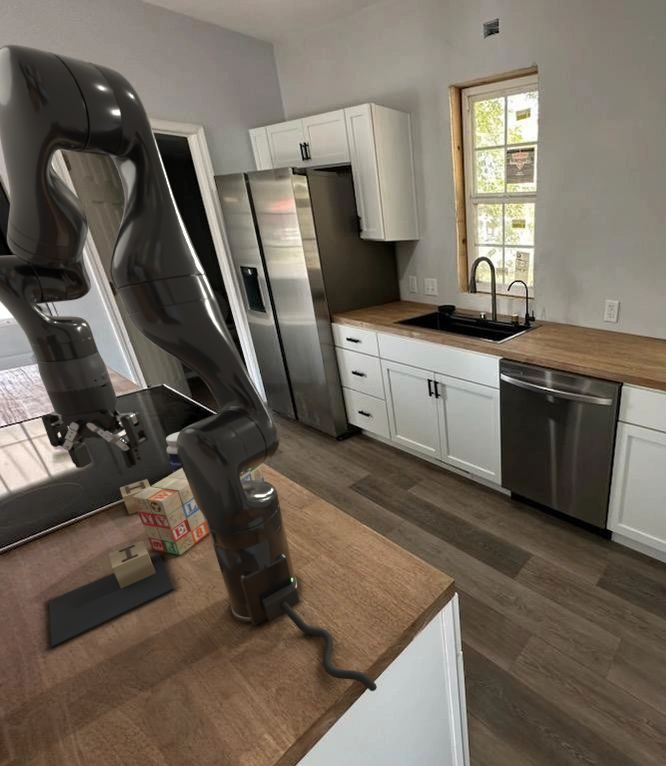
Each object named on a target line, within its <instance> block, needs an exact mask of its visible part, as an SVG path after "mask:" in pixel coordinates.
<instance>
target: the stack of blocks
mask: <svg viewBox="0 0 666 766" xmlns="http://www.w3.org/2000/svg"><path fill="white" fill-rule="evenodd" d="M263 473H264V472H263V469H262V465H261V464H260V465H258V466H257V467H255V468H254V469H252V470H250V471H249V472H247V473H245V474H244V475H242V476H240V480H241V482H242V481H250V480H259V481H265V478H264V474H263ZM133 498H134V501H135V503H136V506H137V508H138V512H137V514H138V516H139V519H140V521H141V523H142V525H143V528H144V530H145V533H146V535H147V538H148V540H149V543H150V547H151V549H152V550H153V551H156V552H161V553H168V554H172V555H177V556H181V555H183V554H184V553H185V552H186V551H188V550H189V549H190V548H192V547H193V546H194V545H195V544H197V543H198V542H199V541H201V540H203V538H204V537H206V536H207V535H209V534H210V532H209V529H208V526H207V523H206V520H205V517H204V516H203V514H202V513H201V511H200V509H199V508H198V506H197V504H196V502H195V500H194V497H193V494H192V492H191V489H190V486H189V484H188V481H187V478H186V476H185V474H184V471H183V469H182V468H181V469H179V470H177V471H176V472H174V473H173V472H172V473H171V474H169V475H168V476H166V477H164V478H162V479H160V480H159V481H157V482H155V483H153V484H152V485H150V487H148V488H147V489H145V490H143V491H141V492H140V493H138V494H136V495H135V496H133Z"/></svg>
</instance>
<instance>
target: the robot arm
mask: <svg viewBox="0 0 666 766" xmlns="http://www.w3.org/2000/svg"><path fill="white" fill-rule="evenodd" d="M0 145H1V151H2V154H3V160H4V165H5V171H6V175H7V181H8V187H9V201H10V202H9V211H8V212H9V213H8V222H7V232H6V233H7V234H6V243H7V246H8V247H9V249H10V251H11V252H12V253H13V254H12V255H0V304H2V305H3V306H4V307H5V308H6V310H7V311H8V312H9V313H10V314H11V316H12V317H13V318H14V320H15V321H16V323H17V324H18V325H19V326H20V328H21V330H22V331H23V332H24V335H25V336H26V338H27V340H28V344H29V345H30V348H31V351H32V353H33V355H34V358H35V360H36V363H37V369H38V373H39V376H40V379H41V381H42V384H43V387H44V388H45V391H46V393H47V396H48V399H49V400H50V403H51V407H52V408H53V411H51V412H49V413H46V414H44V415H42V416H41V421H42V424H43V426H44V429H45V432H46V435H47V438H48V440H49V444H50V446H51V447H54V448H57V447H62V448H63V449H64V450H65V451H67V452H68V455H69V458H70V460H71V462H72V464H73V465H74V466H75V467H76V468H77V469H83V468H85V467H87V466H88V465H90V464H91V463H92V457H91V455H90V452H89V450H88V447H87V445H86V444H85V443H84V442H85V440H86V439H91V438H95V439H104V440H105V441H107V442H108V443H110V444H114V445H116V446H117V447H119V449H120V450H121V454H122V457H123V460H124V462H125V466H126V468H127V469H135V468H136V467H138V466H139V465H140V464H141V463H142V461H143V457H142V454H141V450H140V448H139V447H140V446H142V445H143V444H145V443H147V442H149V440H150V438H149V435H148V432H147V430H146V427H145V425H144V423H143V419H142V417H141V415H140V413H139V411H137V410H131V411H130V412H127V413H121V412H120V411H119V410H118V409H117V408H116V405H117V401H118V398H117V395H116V392H115V389H114V385H113V383H112V381H111V380H112V379H111V377H110V374H109V371H108V368H107V365H106V363H105V361H104V359H103V357H102V355H101V354H100V351H99V348H98V346H97V344H96V341H95V337H94V333H93V331H92V329H91V326H90V324H89V322H88V321H87V320H86V319H84V318H83V317H79V316H72V315H49V314H45V313H44V312H43V311H41V310H40V308H39V307H38V305H41V304H51V303H58V302H59V303H61V302H69V301H76V300H79V299H82V298H84V297H85V296H86V295H88V293H89V292H90V291H91V288H92V285H91V278H90V276H89V274H88V271H87V268H86V265H85V260H84V253H83V252H84V248H85V245H86V241H87V238H88V237H87V236H88V232H89V217H88V214H87V211H86V209H85V206H84V205H83V204H82V202H81V200H80V199H79V198H78V196H77V195H76V194H75V193H74V192H73V190H71V188H70V187H69V186H68V185H67V184H66V183H65V182H64V180H63V179H62V178H61V177H60V176H59V174H58V173H57V171H56V170H55V168H54V166H53V158H54V155H55V153H56V152H57V151H64V152H70V153H82V154H89V155H90V154H91V155H99V156H101V155H102V156H109V157H110V158H111V159H112V161H113V162H114V165H115V167H116V170H117V172H118V175H119V179H120V181H121V185H122V190H123V194H124V195H123V196H124V207H123V209H124V210H123V213H122V218H121V221H120V225H119V229H118V232H117V234H116V239H115V242H114V244H113V249H112V254H111V257H110V263H109V273H110V278H111V281H112V284H113V285H114V287H115V290H117V291H116V292H117V293H118V296H119V298H120V300H121V302H122V304H123V306H124V308H125V310H126V313H127V314H128V316H129V318H130V320H131V322H132V324H133V326H134V327H135V329H137V331H138V332H139V333H140V334H141V335H142V336H143V337H144V338H146V340H148V341H150V342H151V344H153V345H155V346H156V347H157V348H159V349H161V351H163V352H164V353H166V354H168V355H169V356H171V358H173V359H174V360H177V361H178V362H180V363H181V364H182V365H184V366H186V367H187V368H188V369H190V370H191V371H193V372H194V373H195V374H196V375H197V376H198V377H199V378H200V379H201V380H202V381H203V382H204V384H205V385H206V386H207V388H208V389H209V391H210V393H211V394H212V396H213V398H214V399H215V401H216V403H217V406H218V408H219V412H217V413H215V414H212V415H210V416H207V417H206V418H204V419H200V420H199V421H196V422H194V423H191V424H189V425H188V426H185V427H184V428H183V429H181V430H180V431H179V432H180V433H179V435H178V437H177V443H176V447H177V454H178V458H179V461H180V463H181V466H182V469H183V471H184V474H185V476H186V478H187V481H188V484H189V486H190V489H191V492H192V494H193V497H194V500H195V502H196V504H197V506H198V508H199V509H200V511H201V513H202V514H203V516H204V517H205V520H206V523H207V526H208V529H209V536H210V538H211V542H212V546H213V548H214V553H215V555H216V559H217V563H218V566H219V570H220V573H221V576H222V580H223V583H224V587H225V590H226V593H227V596H228V600H229V603H230V609H231V612H232V616H234V618H235V619H236V620H238V621H240V622H244V623H252V625H253V626H254V627H257V626H259V625H260V624H262V623H264V622H265V621H267V620H268V621H271V620H272V619H274V618H275V617H277V616H279V615H280V614H283V613H285V614H286V615H287V617H288V618H289V619H290V620H291V621H292V622H293V623H294V624H295V626H296V627H297V628H298V629H299V630H300V631H302V633H305V634H306V635H309V636H315V637H320V638H322V639H323V640H324V642H325V647H324V653H323V657H322V666H323V669H324V671H325V672H326V673H327V674H328V675H329V676H331V677H333V678H336V679H342V680H353V681H358V682H360V683H361V684H363V685H364V686H365V687H366V688H367V689H368V690H369V691H370V692H375V691H376V690H377V684H376V683H375V681H374V680H373V678H371V676H368V675H367V674H366V673H364V672H361V671H359V670H358V671H357V670H348V669H347V670H346V669H341V668H336V667H335V666H333V664H332V662H331V657H332V651H333V646H334V645H333V644H334V641H333V636H332V635H331V634H330V633H329V632H328V631H327V630H326V629H323V628H317V627H312V626H310V625H308V624H307V623H306V622H305V621H303V619H302V618H301V617H300V616H299V614H297V612H296V611H295V610H294V609H293V608H292V607H294V606H296V605H297V604H299V603H300V598H299V597H300V596H299V592H298V587H299V586H298V584H299V583H298V580H297V577H296V575H295V569H294V565H293V561H292V556H291V551H290V546H289V542H288V538H287V533H286V527H285V523H284V519H283V513H282V509H281V504H280V499H279V495H278V491H277V488H276V486H274V485H273V484H272V483H270V482H267V481H265V480H264V481H259V480H250V481H242V482H241V480H240V476H242V475H244V474H245V473H247V472H249V471H250V470H252V469H254V468H255V467H257V466H258V465H260V466H261V465H262V464H264V463H265V462H266V461H268V460H270V459H271V458H272V457H273V456H275V454H276V453H277V452H278V450H279V446H280V436H279V431H278V428H277V425H276V422H275V421H274V418H273V416H272V414H271V412H270V410H269V408H268V407H267V405H266V403H265V401H264V399H263V397H262V396H261V393H260V392H259V390H258V388H257V387H256V384H255V383H254V381H253V379H252V377H251V375H250V373H249V372H248V369H247V368H246V366H245V364H244V361H243V359H242V358H241V355H240V352H239V351H238V349H237V347H236V344H235V343H234V339H233V337H232V335H231V333H230V329H228V326H227V323H226V322H225V319H224V316H223V314H222V311H221V308H220V305H219V302H218V299H217V298H216V295H215V293H214V292H215V291H214V290H213V288H212V286H211V283H210V280H209V278H208V276H207V273H206V271H205V269H204V267H203V265H202V263H201V260H200V257H199V256H198V253H197V252H196V249H195V247H194V245H193V242H192V240H191V238H190V237H191V236H190V235H189V232H188V230H187V227H186V224H185V222H184V220H183V218H182V215H181V212H180V209H179V207H178V204H177V202H176V199H175V196H174V193H173V190H172V187H171V184H170V181H169V177H168V174H167V171H166V168H165V165H164V162H163V159H162V158H163V157H162V155H161V152H160V149H159V146H158V143H157V139H156V137H155V133H154V130H153V127H152V124H151V122H150V118H149V116H148V113H147V111H146V108H145V106H144V104H143V101H142V100H141V98H140V96H139V94H138V92H137V91H136V90H135V87H134V86H133V84H131V82H130V81H129V80H128V79H127V78H126V77H125V76H124V75H123V74H122V73H120V72H119V71H117V70H115V69H113V68H110V67H108V66H106V65H102V64H98V63H94V62H91V61H86V60H82V59H80V58H79V59H78V58H76V57H71V56H68V55H63V54H60V53H56V52H51V51H48V50H43V49H39V48H36V47H30V46H25V45H17V44H5V45H3V46H1V47H0ZM116 430H117V431H118V433H116V434H114V433H115V432H116ZM59 434H60V436H59ZM124 439H125V440H124Z"/></svg>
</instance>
